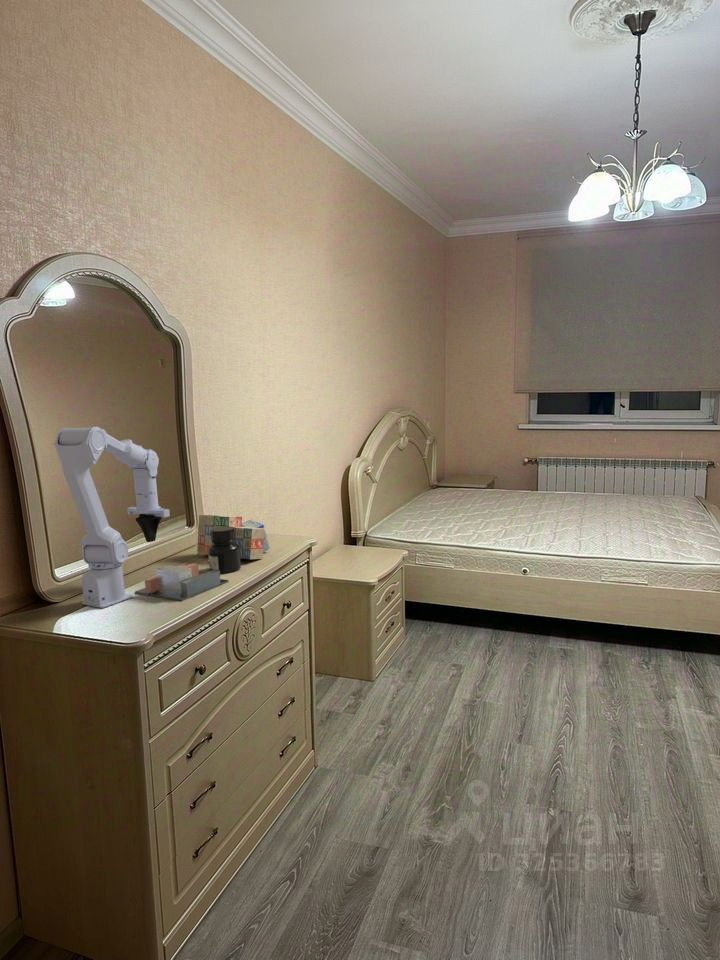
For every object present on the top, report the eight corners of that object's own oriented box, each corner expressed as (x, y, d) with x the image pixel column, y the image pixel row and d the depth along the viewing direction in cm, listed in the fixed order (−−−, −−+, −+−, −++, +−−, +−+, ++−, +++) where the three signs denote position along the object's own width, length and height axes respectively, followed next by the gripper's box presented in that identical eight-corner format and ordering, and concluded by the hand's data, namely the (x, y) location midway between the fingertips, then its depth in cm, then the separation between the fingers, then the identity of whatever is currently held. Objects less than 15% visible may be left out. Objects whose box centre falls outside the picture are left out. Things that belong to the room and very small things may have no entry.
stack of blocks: (263, 559, 201) (265, 518, 202) (249, 560, 196) (252, 518, 196) (210, 552, 212) (212, 514, 213) (196, 553, 207) (198, 514, 207)
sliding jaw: (152, 593, 170) (150, 581, 169) (145, 592, 171) (144, 580, 170) (199, 575, 184) (198, 563, 184) (193, 574, 185) (192, 563, 185)
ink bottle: (211, 566, 196) (207, 526, 194) (241, 564, 197) (238, 524, 195) (208, 575, 186) (205, 533, 184) (240, 572, 187) (237, 531, 186)
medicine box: (245, 548, 212) (238, 524, 209) (257, 542, 215) (250, 518, 212) (258, 554, 207) (251, 530, 203) (270, 548, 209) (263, 524, 206)
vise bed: (181, 601, 165) (180, 585, 164) (135, 593, 173) (133, 578, 172) (228, 582, 179) (227, 567, 178) (183, 575, 187) (181, 561, 187)
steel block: (180, 595, 167) (178, 572, 166) (158, 592, 171) (156, 569, 171) (192, 591, 171) (190, 568, 170) (169, 587, 175) (167, 565, 174)
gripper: (176, 491, 183) (180, 539, 185) (139, 489, 191) (144, 536, 193) (156, 495, 177) (161, 545, 179) (119, 493, 185) (124, 541, 187)
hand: (151, 541), depth 185 cm, fingers closed
